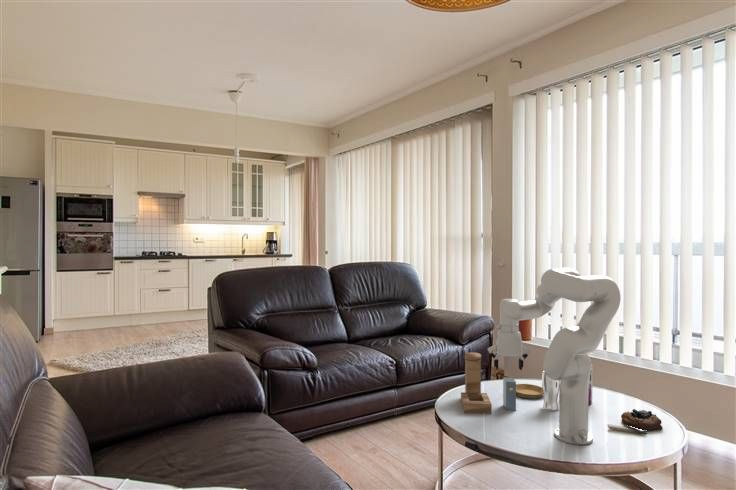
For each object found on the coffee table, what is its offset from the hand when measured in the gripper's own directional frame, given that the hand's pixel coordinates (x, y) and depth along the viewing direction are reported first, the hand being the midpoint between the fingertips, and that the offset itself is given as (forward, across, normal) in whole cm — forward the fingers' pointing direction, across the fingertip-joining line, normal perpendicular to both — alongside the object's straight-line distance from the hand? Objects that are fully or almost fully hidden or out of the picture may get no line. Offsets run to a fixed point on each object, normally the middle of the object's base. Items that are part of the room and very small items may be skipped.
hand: (508, 368), depth 195 cm
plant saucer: (+17, +12, +17) cm, 27 cm away
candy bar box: (+16, +32, +9) cm, 37 cm away
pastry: (+16, +47, -15) cm, 51 cm away
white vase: (+16, +18, 0) cm, 24 cm away
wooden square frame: (+17, -14, +2) cm, 22 cm away
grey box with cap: (+16, 0, -1) cm, 17 cm away
